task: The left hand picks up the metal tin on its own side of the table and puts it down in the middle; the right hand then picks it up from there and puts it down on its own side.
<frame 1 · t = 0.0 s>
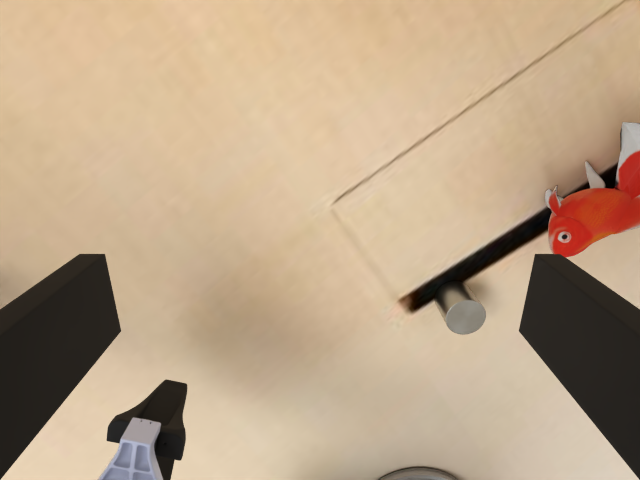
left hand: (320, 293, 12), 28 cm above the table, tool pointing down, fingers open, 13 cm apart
right hand: (170, 416, 37), fingers open, 7 cm apart
tin: (452, 296, 44), on the table
fish: (586, 175, 39), on the table
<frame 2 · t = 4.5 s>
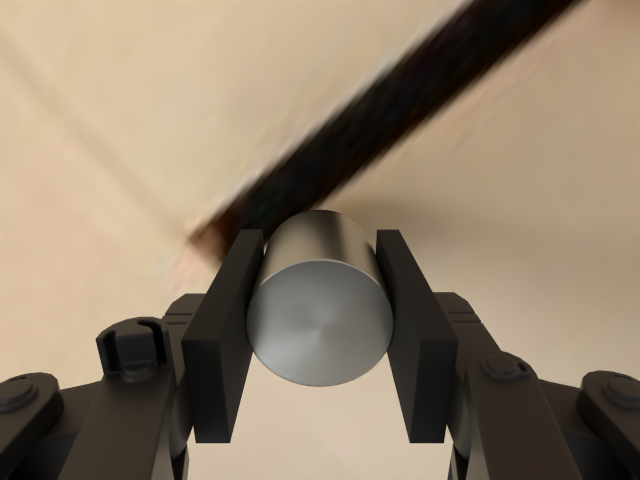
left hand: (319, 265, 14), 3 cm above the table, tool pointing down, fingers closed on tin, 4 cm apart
tin: (319, 261, 15), point 2 cm above the table, touching left hand
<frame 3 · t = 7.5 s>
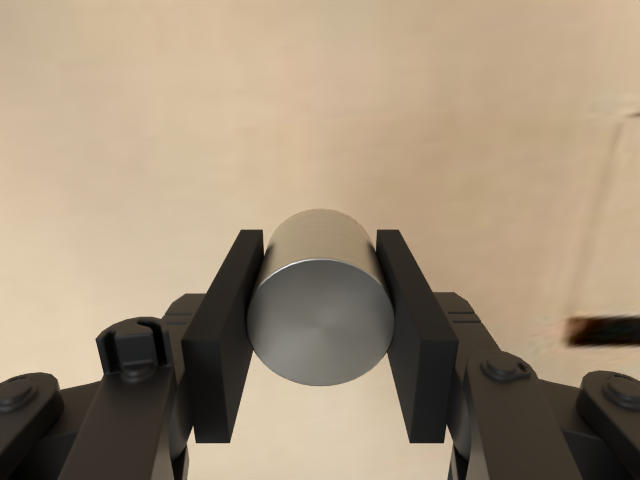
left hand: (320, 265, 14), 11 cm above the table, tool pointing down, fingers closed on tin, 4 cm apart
tin: (320, 260, 15), point 10 cm above the table, touching left hand
when the left hand's fingers open (0 cm above the table, at t = 10.5 s): tin stays where it is, on the table.
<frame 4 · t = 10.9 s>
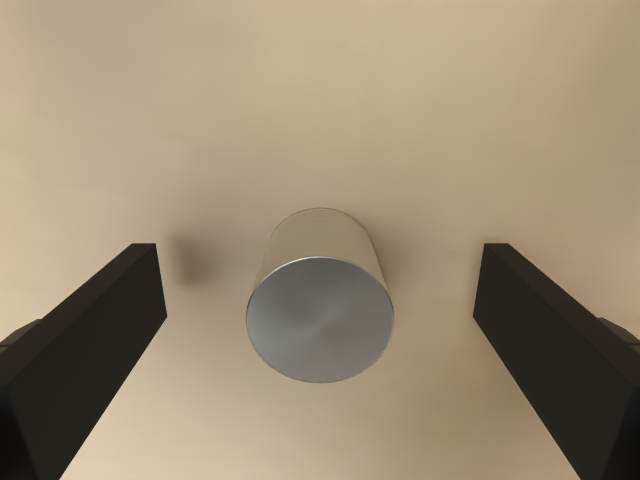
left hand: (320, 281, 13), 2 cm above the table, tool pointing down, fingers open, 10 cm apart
tin: (320, 259, 15), on the table
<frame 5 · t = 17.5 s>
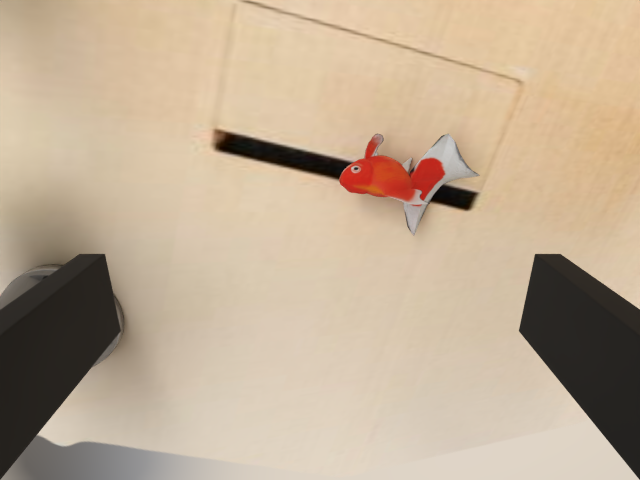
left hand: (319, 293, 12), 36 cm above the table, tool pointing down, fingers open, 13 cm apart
fish: (404, 168, 47), on the table
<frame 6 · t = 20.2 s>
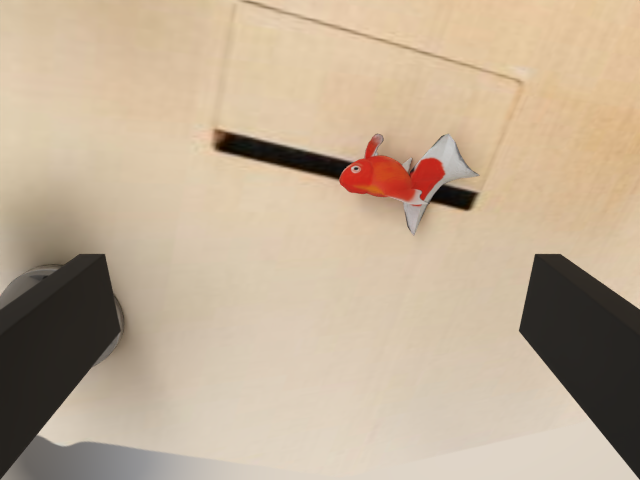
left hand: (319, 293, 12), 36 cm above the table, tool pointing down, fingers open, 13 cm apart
fish: (404, 168, 47), on the table
when the right hand's fingers open (2 cm above the table, at t = 23.3 s): tin stays where it is, on the table.
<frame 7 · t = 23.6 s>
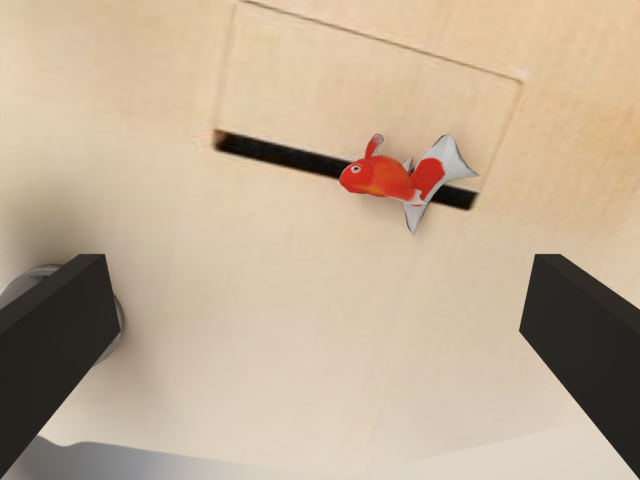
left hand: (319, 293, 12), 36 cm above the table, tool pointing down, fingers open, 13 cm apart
fish: (404, 168, 47), on the table
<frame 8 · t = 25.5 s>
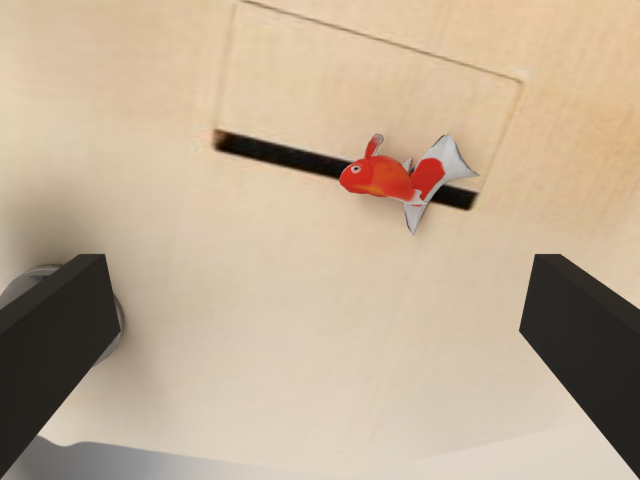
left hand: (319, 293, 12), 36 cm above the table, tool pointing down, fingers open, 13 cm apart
fish: (404, 168, 47), on the table
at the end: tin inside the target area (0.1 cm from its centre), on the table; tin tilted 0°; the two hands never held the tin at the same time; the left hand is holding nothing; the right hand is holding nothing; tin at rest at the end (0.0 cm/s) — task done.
